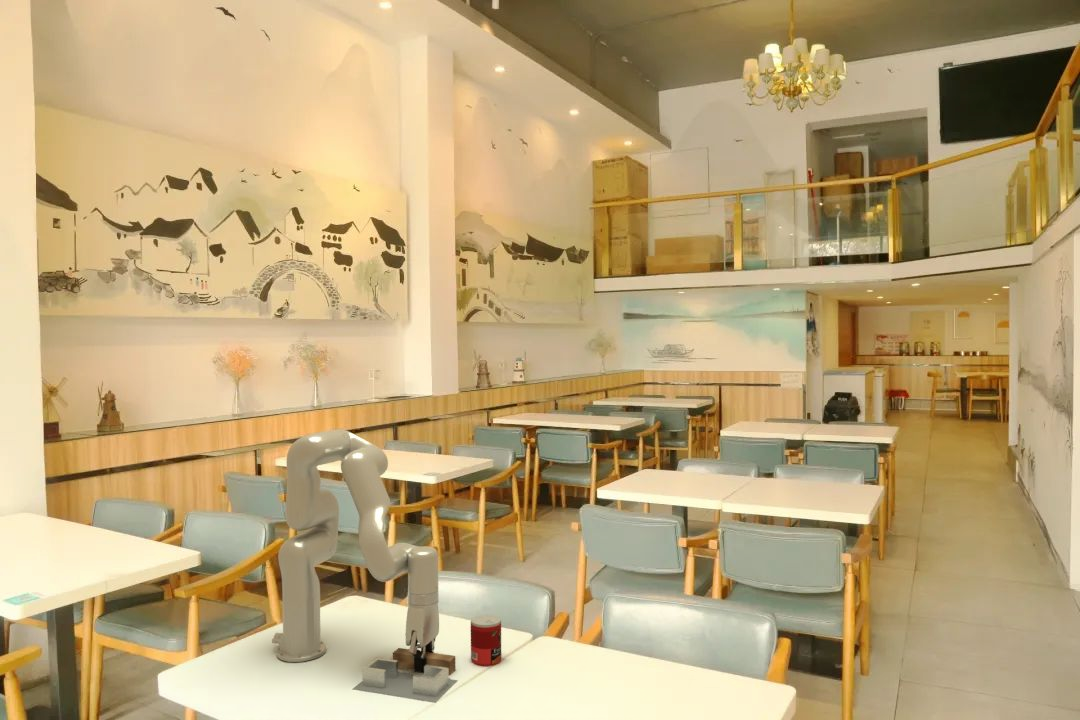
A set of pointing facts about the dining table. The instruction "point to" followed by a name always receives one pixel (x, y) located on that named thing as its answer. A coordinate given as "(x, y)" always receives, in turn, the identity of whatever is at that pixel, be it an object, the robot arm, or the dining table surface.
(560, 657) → the dining table surface
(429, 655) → the slat
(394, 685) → the mat
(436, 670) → the endcap
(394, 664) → the endcap
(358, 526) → the robot arm
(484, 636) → the canned food
